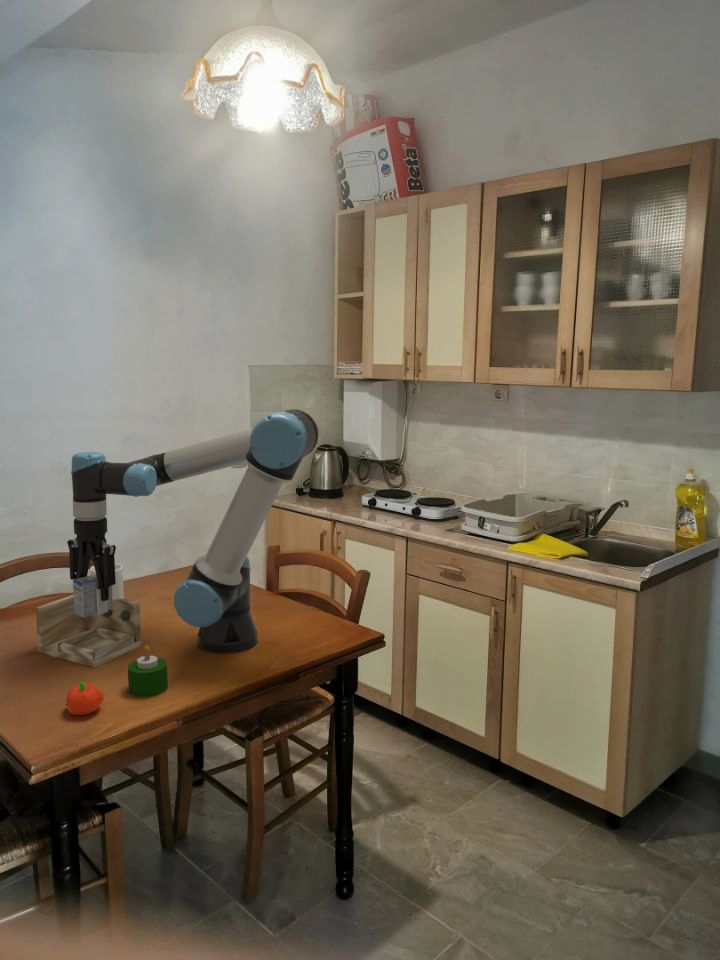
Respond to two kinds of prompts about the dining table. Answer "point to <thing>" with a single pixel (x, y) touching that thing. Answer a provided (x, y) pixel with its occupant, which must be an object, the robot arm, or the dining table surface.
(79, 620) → the wooden rack
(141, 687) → the candle
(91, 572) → the cup
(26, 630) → the dining table surface
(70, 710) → the tomato
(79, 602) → the medicine box
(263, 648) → the dining table surface
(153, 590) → the dining table surface
